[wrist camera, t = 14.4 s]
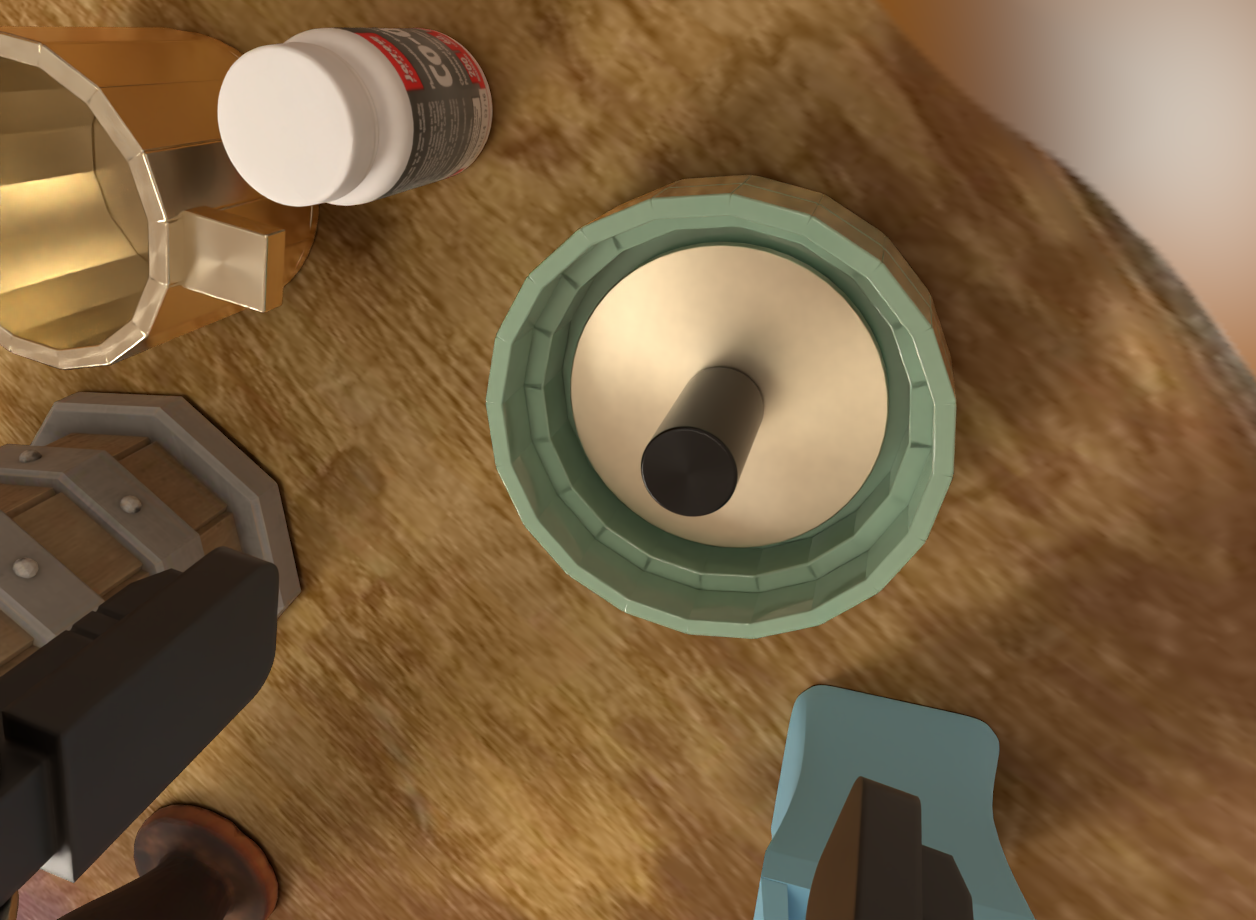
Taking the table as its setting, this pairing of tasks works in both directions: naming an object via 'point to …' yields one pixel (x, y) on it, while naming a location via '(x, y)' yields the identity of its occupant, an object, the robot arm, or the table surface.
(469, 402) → the table surface
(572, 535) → the bowl
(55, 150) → the pot
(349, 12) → the table surface
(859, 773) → the vase
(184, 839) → the vase
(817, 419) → the pot lid
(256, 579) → the robot arm
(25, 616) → the tankard
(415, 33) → the pill bottle
